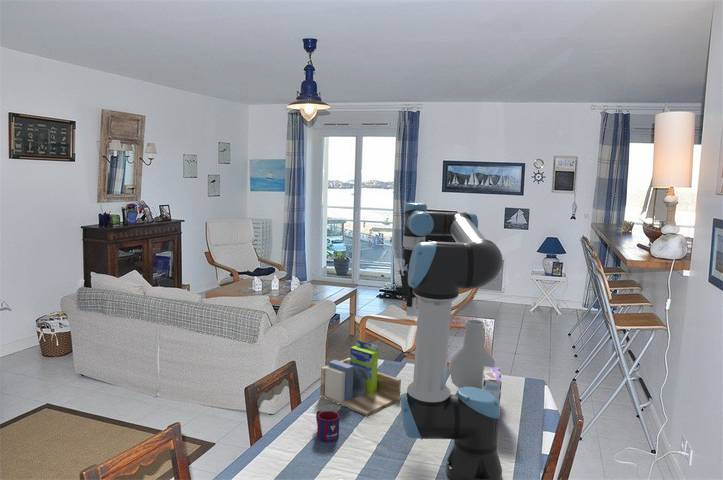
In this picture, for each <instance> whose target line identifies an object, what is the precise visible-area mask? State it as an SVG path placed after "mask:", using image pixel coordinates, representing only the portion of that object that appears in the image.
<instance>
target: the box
mask: <svg viewBox="0 0 723 480" xmlns="http://www.w3.org/2000/svg"><path fill="white" fill-rule="evenodd" d="M365 345H367V346H365ZM349 353H350V354H349V355H350V357H349V358H350V365H352V366H353V374H354V375H357V376H360V377H363V378H366V388H365V392H367V393H370V394H371V393H373V392H375V391H377V372H378V364H379V363H378V360H379V346H378V345H376V344H373V343H369V342H365V341H361V340H356V345H354V346H351V347H350V352H349Z"/></svg>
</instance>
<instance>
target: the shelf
mask: <svg viewBox="0 0 723 480" xmlns="http://www.w3.org/2000/svg"><path fill="white" fill-rule="evenodd" d="M339 361H340V362H343V363H346V364H349V365H350V357H348V358H345V359H342V360H339ZM328 366H329V364H328V365H325V366H322V367H320V396H321V397H320V398H322V397H324V398H326V399H325V400H327V399H328V400H327V401H329V400H331V401H330V402H332V401H334V402H336V403H335V404H337V403H339V404H341V405H340V406H342V405H344V406H346V407H348V408H347V409H349V408H350V410H351V409H353V410H352V411H354V410H355V411H354V412H356V411H357V413H359V412H360V413H359V414H361V413H362V415H364V416H367V417H368V416H369V415H371V414H374V413H376V412H378V411H380V410H382V409H385V408H386V407H388V406H390V405H392V404H394V403H396V402H398V401H401V387H402V386H401V385H402V384H401V383H402V380H401V378H398V377H394V376H391V375H390V374H387V373H384V372H383V373H382V372H380V371H377V391H375V392H373V393H371V394H370V393H367V392H365V395H363V396H360V397H358V398H356V399H355V398H352V399H350V400H347V401H345V400H344V401H342V402H340V401H338V400H335V399H333V398H330V397H328V396H325V367H328ZM324 398H323V399H324ZM334 402H333V403H334ZM339 404H338V405H339ZM344 406H343V407H344ZM346 407H345V408H346Z"/></svg>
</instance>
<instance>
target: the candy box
mask: <svg viewBox="0 0 723 480" xmlns="http://www.w3.org/2000/svg"><path fill="white" fill-rule="evenodd" d="M502 382H503V381H502V375H501V369H500V367H499V366H498V367H497V366H495V367H490V366H483V375H482V390H485V391H487V392H489V393H491V394H493V395H494V396H495V397H496V398H497V399H498V401H499V403H500V404H501V395H502V394H501V393H502V384H503V383H502Z"/></svg>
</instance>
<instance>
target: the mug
mask: <svg viewBox="0 0 723 480" xmlns="http://www.w3.org/2000/svg"><path fill="white" fill-rule="evenodd" d="M315 418H316V419H315V420H316V438H317V439H318V440H319V441H321V442H329V441H330V442H335V441H336V440H338V439H339V437H340V413H338V412H336V411H333V410H324V411H322V410H317V411H316V414H315Z"/></svg>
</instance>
